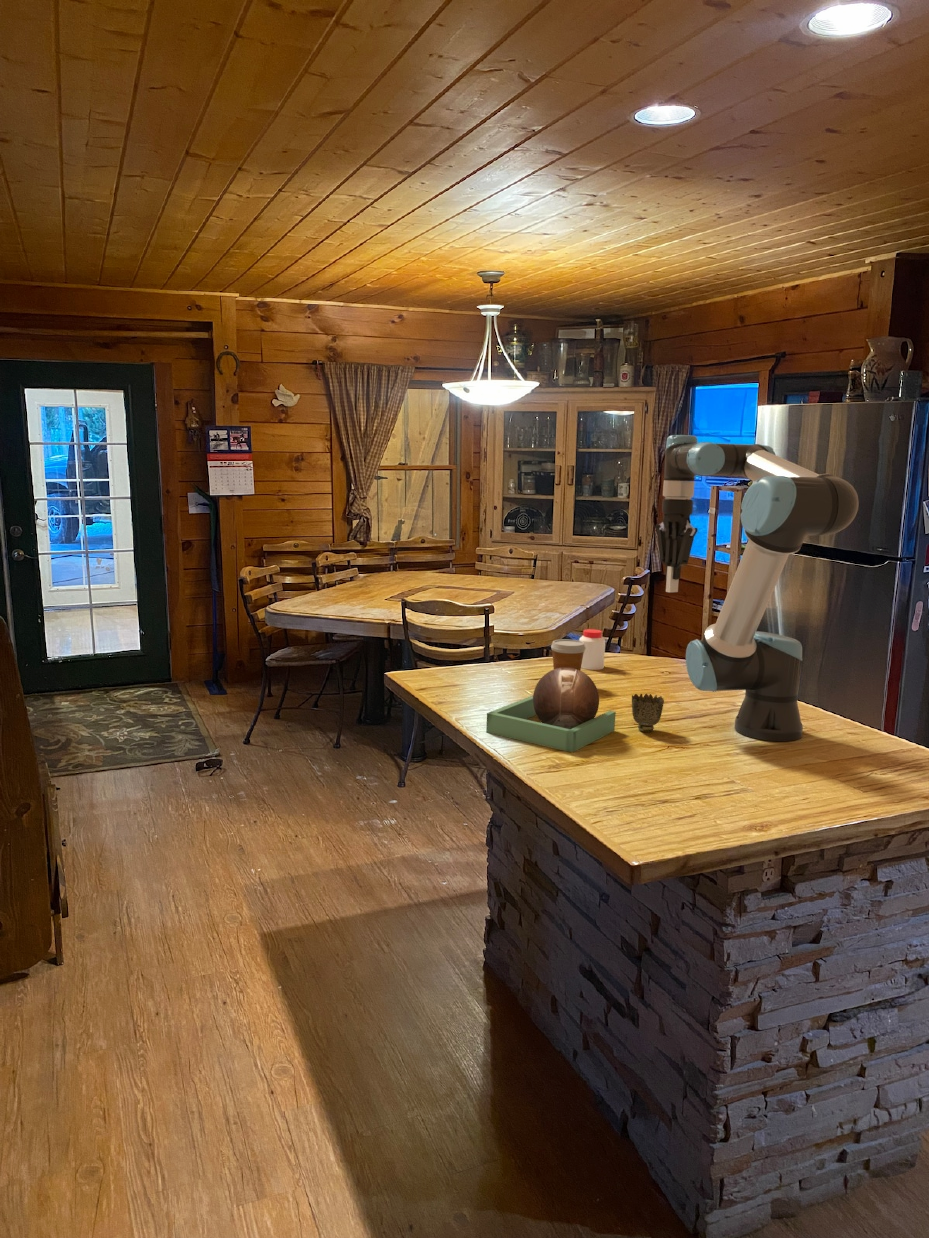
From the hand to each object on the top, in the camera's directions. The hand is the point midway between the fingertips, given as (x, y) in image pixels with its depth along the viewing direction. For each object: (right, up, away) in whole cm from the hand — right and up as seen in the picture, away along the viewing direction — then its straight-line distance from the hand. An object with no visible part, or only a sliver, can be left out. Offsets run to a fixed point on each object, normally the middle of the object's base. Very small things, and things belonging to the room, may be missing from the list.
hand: (671, 591), depth 233 cm
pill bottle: (-15, -21, +43) cm, 50 cm away
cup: (-11, -33, -20) cm, 40 cm away
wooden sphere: (-30, -33, -23) cm, 50 cm away
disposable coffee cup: (-25, -25, +20) cm, 41 cm away
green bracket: (-32, -33, -22) cm, 51 cm away
